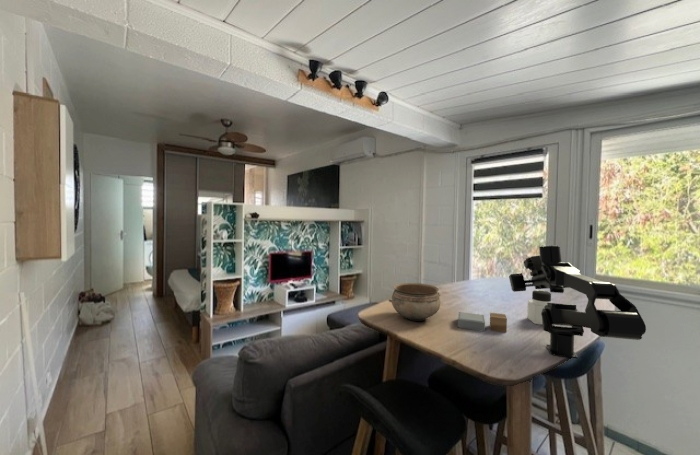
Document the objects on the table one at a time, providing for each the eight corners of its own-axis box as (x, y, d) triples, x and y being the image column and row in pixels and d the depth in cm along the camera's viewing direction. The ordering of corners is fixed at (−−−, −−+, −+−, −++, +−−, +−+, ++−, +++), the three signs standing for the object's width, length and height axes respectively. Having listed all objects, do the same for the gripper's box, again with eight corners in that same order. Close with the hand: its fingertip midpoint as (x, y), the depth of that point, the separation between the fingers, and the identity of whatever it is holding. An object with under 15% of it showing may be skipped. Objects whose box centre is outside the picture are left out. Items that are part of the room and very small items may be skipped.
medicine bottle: (555, 325, 108) (556, 294, 107) (534, 324, 109) (535, 292, 109) (546, 319, 115) (547, 289, 114) (526, 317, 116) (527, 288, 116)
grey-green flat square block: (484, 331, 102) (484, 322, 102) (457, 327, 105) (457, 318, 105) (483, 322, 110) (483, 314, 110) (458, 319, 114) (458, 311, 114)
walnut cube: (506, 332, 101) (506, 318, 101) (490, 330, 103) (491, 316, 103) (504, 327, 106) (505, 314, 106) (489, 325, 108) (490, 312, 107)
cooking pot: (404, 332, 101) (405, 297, 100) (375, 315, 118) (376, 285, 117) (456, 320, 112) (457, 289, 112) (423, 307, 129) (423, 280, 129)
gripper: (573, 252, 96) (552, 259, 111) (512, 257, 99) (500, 264, 114) (582, 285, 93) (560, 288, 108) (520, 290, 96) (506, 292, 111)
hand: (530, 282), depth 110 cm, fingers open, 9 cm apart
